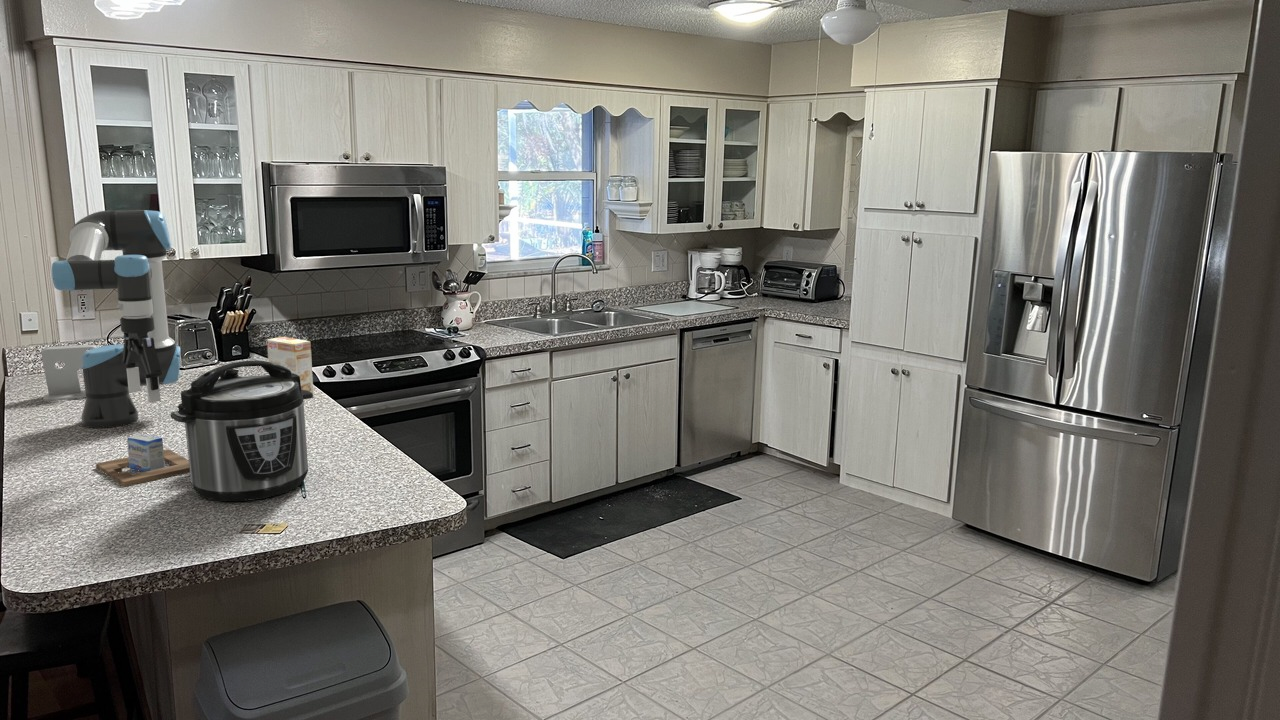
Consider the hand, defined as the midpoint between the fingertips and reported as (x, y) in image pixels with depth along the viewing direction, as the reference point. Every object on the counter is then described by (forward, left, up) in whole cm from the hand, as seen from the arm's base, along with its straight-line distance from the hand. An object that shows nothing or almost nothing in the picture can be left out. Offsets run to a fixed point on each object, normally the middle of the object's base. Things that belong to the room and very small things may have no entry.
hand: (144, 396), depth 236 cm
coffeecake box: (-47, +63, -19) cm, 81 cm away
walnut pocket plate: (+2, -2, -19) cm, 19 cm away
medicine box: (+2, -2, -19) cm, 19 cm away
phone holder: (-96, +10, -19) cm, 99 cm away
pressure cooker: (+34, +11, -19) cm, 41 cm away
